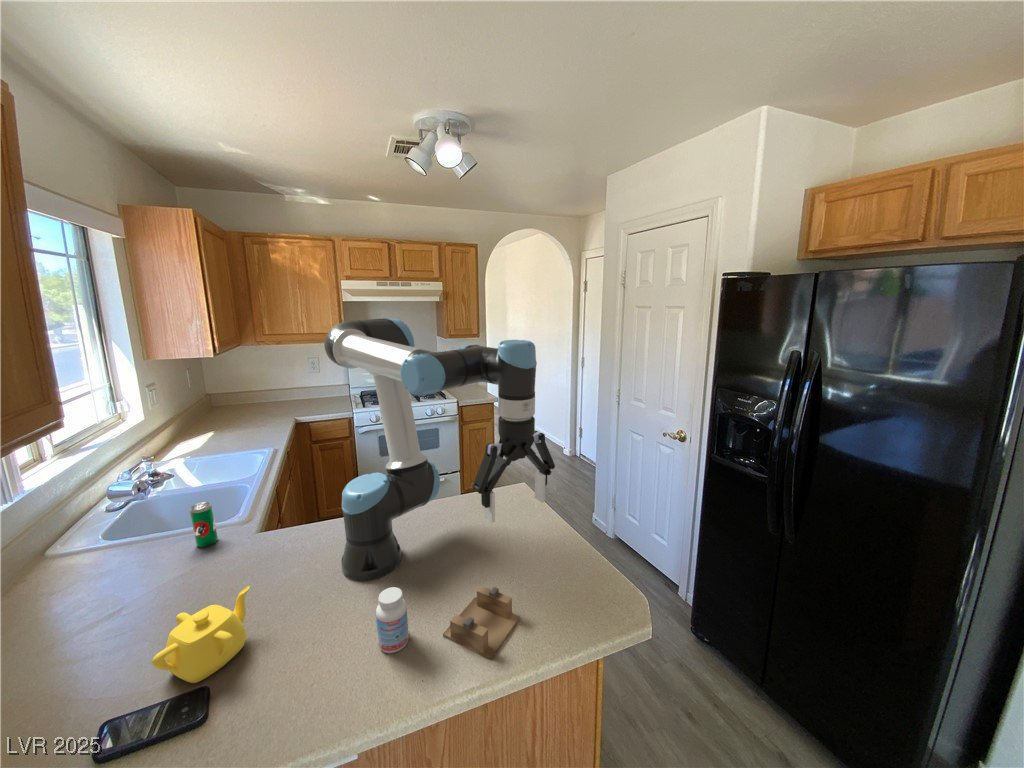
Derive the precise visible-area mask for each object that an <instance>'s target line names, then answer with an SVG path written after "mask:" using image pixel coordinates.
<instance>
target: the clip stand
mask: <svg viewBox="0 0 1024 768" xmlns="http://www.w3.org/2000/svg"><path fill="white" fill-rule="evenodd" d="M520 619H521V616H520V615H519V614H516V613H514V612H513V597H511V596H510V595H506V594H504V593H502V592H500V590H499V588H498V587H496V586H494V587H492V589H491V588H489V587H486V586H484V585H480V587H479V588H478V589H477V590H476V596H475V597H474V598H473V599H472V600H471V601H470V602H469V603H468V604H467V606H466V607H465V608H464V609H463V610H462V611H461V612H460V614H459V615H458V614H454V616H453V617H452V618H451V619H450V621H449V626H448V627H447V628H446V629H445V630H444V631H443V632H442V637H444V638H445V639H448V640H450V641H452V642H454V643H456V644H457V645H459V646H461V647H464V648H466V649H468V650H470V651H472V652H474V653H476V654H477V655H480V656H481V657H484V658H486V659H488V660H490V661H492V660H493V659H494V657H495V656H496V654H497V653H498V651H499V650H500V649H501V647H502V646H503V644H504V643H505V642H506V640H507V638H508V637H509V636H510V634H511V632H512V631H513V629H514V628H515V626H517V623H519V621H520Z"/></svg>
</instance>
